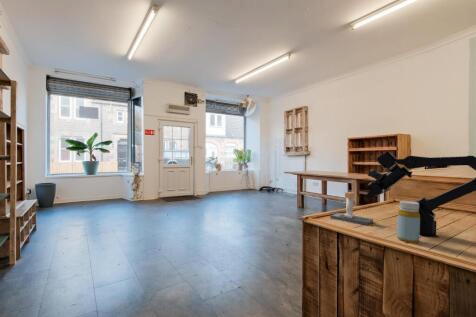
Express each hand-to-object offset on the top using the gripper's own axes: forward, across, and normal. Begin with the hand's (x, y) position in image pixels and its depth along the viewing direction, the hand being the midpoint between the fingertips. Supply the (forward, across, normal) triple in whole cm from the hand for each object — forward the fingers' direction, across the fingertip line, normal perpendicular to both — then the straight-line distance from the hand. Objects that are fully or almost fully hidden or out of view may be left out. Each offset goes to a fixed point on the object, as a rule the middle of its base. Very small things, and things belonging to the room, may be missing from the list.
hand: (366, 197), depth 118 cm
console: (+14, 0, +4) cm, 14 cm away
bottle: (-5, +15, +23) cm, 28 cm away
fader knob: (+13, 0, +2) cm, 13 cm away
